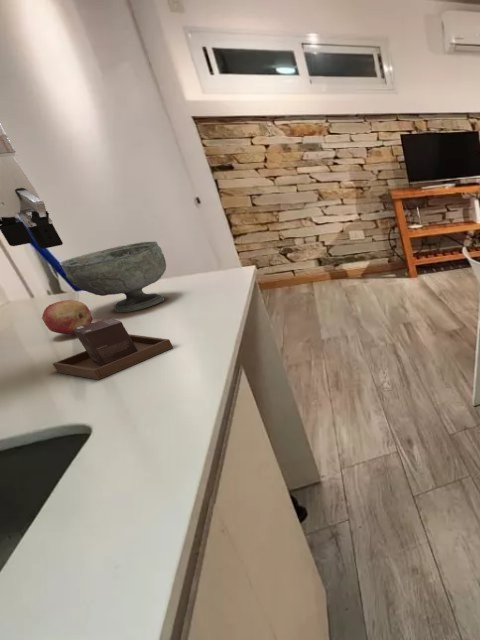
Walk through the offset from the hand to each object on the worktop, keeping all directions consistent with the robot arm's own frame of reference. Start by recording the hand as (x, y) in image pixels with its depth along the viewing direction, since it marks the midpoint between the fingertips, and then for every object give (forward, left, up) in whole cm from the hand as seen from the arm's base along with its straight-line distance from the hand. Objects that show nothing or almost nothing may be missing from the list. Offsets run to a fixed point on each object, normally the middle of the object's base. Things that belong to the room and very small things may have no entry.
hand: (36, 245), depth 89 cm
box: (-1, -7, -23) cm, 24 cm away
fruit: (+6, +21, -24) cm, 32 cm away
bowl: (+22, +27, -24) cm, 42 cm away
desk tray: (-1, -7, -23) cm, 24 cm away
